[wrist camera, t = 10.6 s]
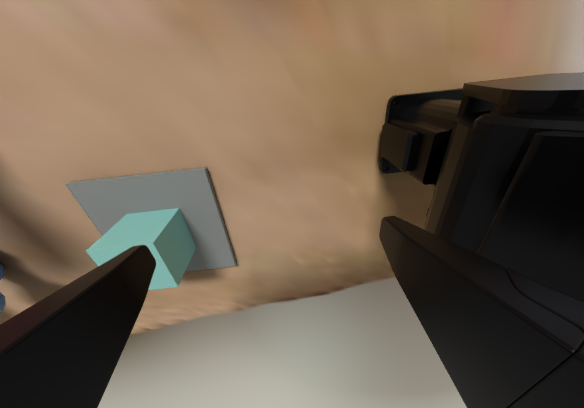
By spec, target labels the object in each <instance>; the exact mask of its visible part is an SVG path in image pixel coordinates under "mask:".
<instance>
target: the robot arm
mask: <svg viewBox="0 0 584 408" xmlns="http://www.w3.org/2000/svg"><path fill="white" fill-rule="evenodd" d="M462 95H463V97H462ZM395 100H397V104H396V105H395V106H394V105H393V103H394V101H395ZM379 154H380V155H381V158H380V166H379V170H380V171H381V172H382V173H385V174H386V173H395V172H407V173H409V174H410V175H412V176H413V177H414V178H416V179H417V180H419V181H420V182H421V183H423V184H425V185H427V184H431V185H433V186H434V187H435V190H434V194H433V197H432V201H431V204H430V207H429V209H428V211H427V214H426V216H427V218H426V221H425V230H423V229H421V228H419V227H417V226H415V225H413V224H410V223H408V222H406V221H404V220H402V219H400V218H397V217H395V216H389V217H384V218H383V219H382V221H381V228H380V240H381V243H382V245H383V248H384V250H385V253H386V255H387V258H388V260H389V262H390V265H391V267H392V270H393V272H394V274H395V276H396V278H397V280H398V282H399V284H400V286H401V287H402V289H403V291H404V293H405V295H406V297H407V299H408V300H409V302H410V304H411V306H412V308H413V310H414V311H415V313H416V315H417V317H418V318H419V320H420V322H421V324H422V326H423V328H424V330H425V332H426V333H427V335H428V337H429V339H430V341H431V342H432V344H433V346H434V348H435V350H436V352H437V353H438V355H439V357H440V359H441V361H442V363H443V364H444V366H445V368H446V370H447V372H448V374H449V375H450V377H451V379H452V381H453V383H454V385H455V386H456V388H457V390H458V392H459V394H460V396H461V397H462V399H463V401H464V403H465V405H466V407H467V408H584V73H560V74H544V75H534V76H525V77H516V78H507V79H498V80H489V81H480V82H471V83H464V86H463V88H462V89H452V90H442V91H433V92H423V93H414V94H404V95H395V96H392V97H391V98H390V99H389V101H388V106H387V114H386V121H385V124H384V125H383V128H382V135H381V143H380V151H379ZM385 166H387V168H386V169H384V167H385ZM155 268H156V260H155V258H154V256H153V255H152V253H151V251H150V250H149V248H148V247H147V246H146V245H137V246H132V247H130V248H129V249H127V250H125V251H124V252H122V253H120V254H119V255H117V256H115V257H114V258H112V259H110V260H109V261H107V262H105V263H103V264H102V265H100V266H98V267H97V268H95V269H93V270H92V271H90V272H88V273H87V274H85V275H83V276H82V277H80V278H78V279H76V280H75V281H73V282H71V283H70V284H68V285H66V286H65V287H63V288H61V289H60V290H58V291H56V292H55V293H53V294H51V295H50V296H48V297H46V298H44V299H43V300H41V301H39V302H38V303H36V304H34V305H33V306H31V307H29V308H28V309H26V310H24V311H23V312H21V313H19V314H17V315H16V316H14V317H12V318H11V319H9V320H7V321H6V322H4V323H2V324H1V325H0V408H97V407H98V405H99V403H100V401H101V398H102V396H103V394H104V392H105V389H106V387H107V385H108V383H109V380H110V378H111V376H112V374H113V371H114V369H115V367H116V365H117V362H118V360H119V358H120V356H121V353H122V351H123V349H124V347H125V345H126V342H127V340H128V338H129V336H130V333H131V331H132V329H133V327H134V324H135V322H136V320H137V318H138V315H139V313H140V311H141V308H142V306H143V303H144V301H145V298H146V295H147V292H148V289H149V286H150V283H151V280H152V277H153V274H154V271H155Z"/></svg>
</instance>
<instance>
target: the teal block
mask: <svg viewBox="0 0 584 408" xmlns="http://www.w3.org/2000/svg"><path fill="white" fill-rule="evenodd" d="M137 245H146V246H147V247H148V248H149V250H150V251H151V253H152V255H153V256H154V258H155V260H156V268H155V271H154V274H153V277H152V280H151V283H150V286H149V289H148V290H154V289H162V288H170V287H178V285H179V283H180V281H181V279H182V277H183V275H184V273H185V271H186V268H187V266H188V264H189V262H190V260H191V258H192V256H193V254H194V251H195V249H196V245H195V243H194V240H193V238H192V236H191V233H190V231H189V229H188V227H187V224H186V222H185V220H184V218H183V215H182V213H181V211H180V208H175V209H166V210H157V211H149V212H140V213H131V214H126V215H125V216H124V217H123V218H122V219H121V220H120V221H118V222H117V223H116V224H115V225H114V226H113V227H112V228H111V229H110V230H108V231H107V232H106V233H105V234H104V235H103V236H102V237H101V238H100V239H99V240H97V241H96V242H95V243H94V244H93V245H92V246H91V247H90V248H89V249H87V250H86V252H87V253H88V254H89V256H90V257H91V258H92V259H93V260H94V262H95V263H96V264H97V265H98V266H100V265H102V264H103V263H105V262H107V261H109V260H110V259H112V258H114V257H115V256H117V255H119V254H120V253H122V252H124V251H125V250H127V249H129V248H130V247H132V246H137Z"/></svg>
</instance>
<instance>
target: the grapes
mask: <svg viewBox="0 0 584 408" xmlns="http://www.w3.org/2000/svg"><path fill="white" fill-rule="evenodd" d="M3 275H4V270H3V266H2V265H1V264H0V280H1V278H2V277H3ZM4 307H5V296H4V295H2V294H1V293H0V313H1V312H2V311H3V309H4Z"/></svg>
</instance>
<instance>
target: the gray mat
mask: <svg viewBox="0 0 584 408" xmlns="http://www.w3.org/2000/svg"><path fill="white" fill-rule="evenodd" d="M66 186H67V188H68V189H69V190H70V192H71V193H72V195H73V196H74V197H75V199H76V200H77V202H78V203H79V204H80V206H81V207H82V209H83V210H84V211H85V213H86V214H87V216H88V217H89V218H90V220H91V221H92V223H93V224H94V225H95V227H96V228H97V230H98V231H99V232H100V234H101V235H102V236H103V235H104V234H105V233H106V232H107V231H108V230H110V229H111V228H112V227H113V226H114V225H115V224H116V223H117V222H118V221H120V220H121V219H122V218H123V217H124V216H125V215H126V214H131V213H140V212H149V211H157V210H166V209H175V208H180V211H181V213H182V215H183V218H184V220H185V222H186V224H187V227H188V229H189V231H190V233H191V236H192V238H193V240H194V243H195V245H196V249H195V251H194V254H193V256H192V258H191V260H190V262H189V264H188V266H187V268H186V271H185V272H190V271H199V270H208V269H217V268H225V267H234V266H236V263H237V262H236V259H235V256H234V253H233V249H232V246H231V243H230V240H229V237H228V233H227V230H226V227H225V224H224V221H223V218H222V214H221V211H220V208H219V205H218V202H217V199H216V195H215V192H214V189H213V186H212V183H211V179H210V176H209V173H208V170H207V167H204V168H195V169H185V170H176V171H167V172H157V173H148V174H139V175H130V176H120V177H111V178H102V179H92V180H83V181H74V182H70V183H68V184H66Z"/></svg>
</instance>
